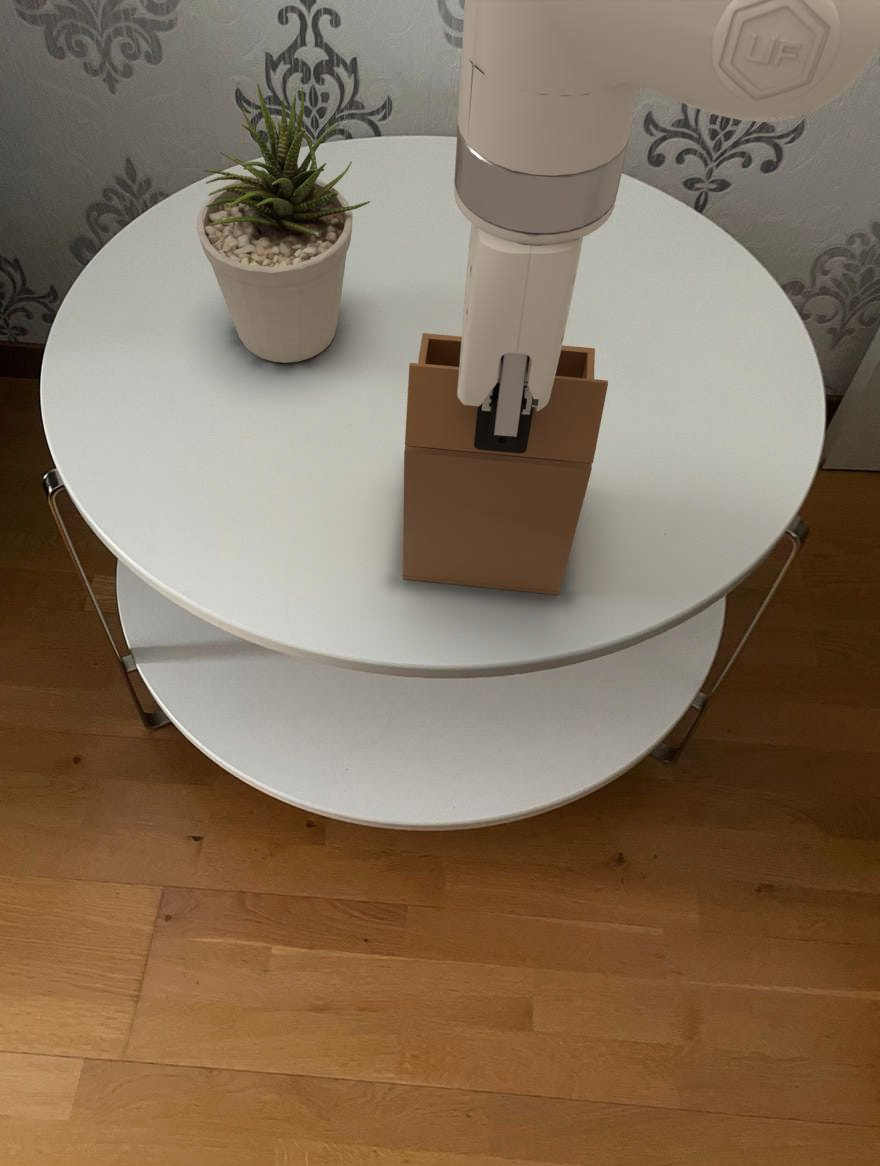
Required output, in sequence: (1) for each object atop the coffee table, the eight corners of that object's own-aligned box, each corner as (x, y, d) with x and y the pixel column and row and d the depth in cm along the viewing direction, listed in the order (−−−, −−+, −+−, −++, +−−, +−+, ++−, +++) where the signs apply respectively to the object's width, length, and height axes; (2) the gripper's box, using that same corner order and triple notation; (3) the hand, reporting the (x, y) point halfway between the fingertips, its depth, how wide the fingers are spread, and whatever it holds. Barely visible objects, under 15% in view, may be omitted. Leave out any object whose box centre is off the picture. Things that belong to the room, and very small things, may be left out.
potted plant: (387, 360, 87) (385, 149, 70) (235, 394, 85) (195, 184, 68) (347, 271, 93) (337, 56, 76) (205, 300, 91) (161, 86, 74)
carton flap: (607, 380, 58) (608, 382, 58) (592, 460, 62) (593, 463, 61) (409, 362, 59) (409, 364, 59) (405, 442, 62) (404, 445, 62)
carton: (563, 483, 80) (595, 347, 68) (558, 595, 75) (591, 469, 62) (418, 469, 81) (422, 332, 68) (402, 579, 75) (404, 451, 63)
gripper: (468, 66, 48) (450, 351, 64) (440, 266, 41) (427, 533, 56) (621, 77, 48) (565, 360, 64) (622, 281, 40) (558, 545, 56)
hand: (500, 441), depth 60 cm, fingers closed
